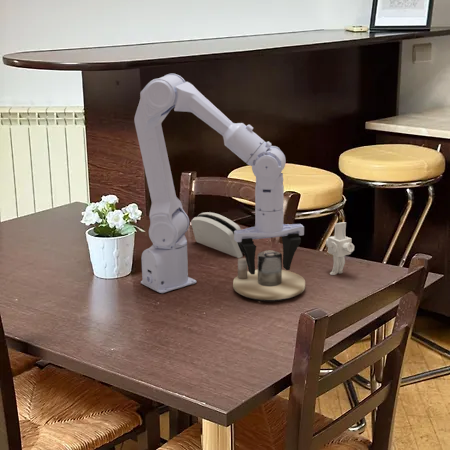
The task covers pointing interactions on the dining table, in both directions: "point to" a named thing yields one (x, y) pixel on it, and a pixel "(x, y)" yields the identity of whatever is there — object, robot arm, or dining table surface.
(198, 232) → the grey piece
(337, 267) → the toy robot
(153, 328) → the dining table surface
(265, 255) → the grey short cylinder
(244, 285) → the turntable
